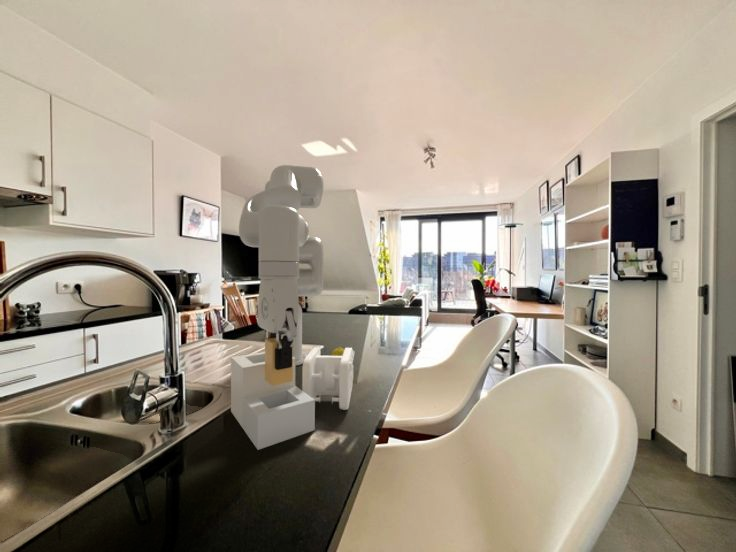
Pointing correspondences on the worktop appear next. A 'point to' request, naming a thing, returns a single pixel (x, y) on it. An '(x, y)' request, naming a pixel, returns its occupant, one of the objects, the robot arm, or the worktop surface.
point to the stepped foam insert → (268, 403)
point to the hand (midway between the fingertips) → (278, 364)
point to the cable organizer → (328, 376)
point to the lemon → (338, 352)
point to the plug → (270, 372)
